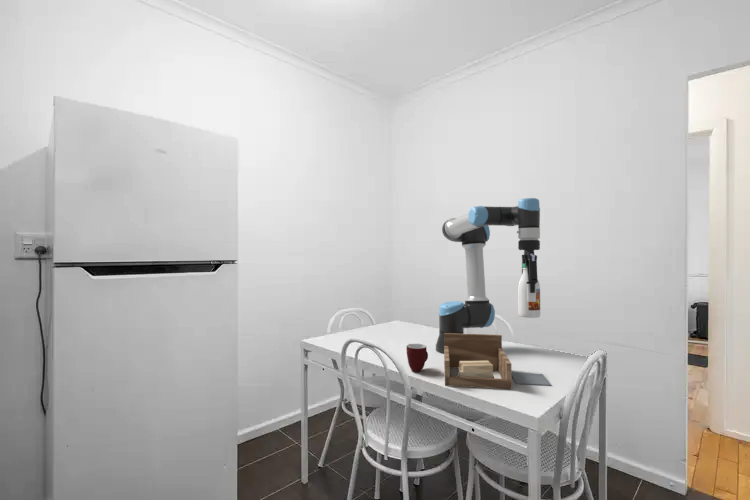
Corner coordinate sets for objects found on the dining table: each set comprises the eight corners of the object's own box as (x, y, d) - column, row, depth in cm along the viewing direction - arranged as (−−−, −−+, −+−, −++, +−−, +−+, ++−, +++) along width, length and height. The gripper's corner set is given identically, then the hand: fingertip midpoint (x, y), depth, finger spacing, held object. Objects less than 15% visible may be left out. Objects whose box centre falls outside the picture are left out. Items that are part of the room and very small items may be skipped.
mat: (510, 373, 149) (510, 372, 149) (542, 374, 147) (542, 373, 147) (516, 384, 137) (516, 382, 137) (551, 385, 135) (551, 384, 135)
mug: (417, 364, 160) (417, 341, 160) (433, 368, 155) (433, 344, 155) (402, 370, 152) (402, 346, 152) (419, 375, 147) (419, 349, 147)
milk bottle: (520, 317, 139) (519, 263, 139) (516, 314, 146) (516, 263, 146) (542, 318, 137) (542, 263, 137) (537, 314, 145) (537, 263, 145)
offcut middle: (458, 373, 143) (458, 366, 143) (490, 374, 142) (490, 368, 142) (459, 378, 138) (459, 371, 138) (493, 379, 136) (493, 373, 136)
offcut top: (459, 367, 142) (459, 361, 142) (487, 367, 143) (487, 360, 143) (463, 372, 137) (463, 365, 137) (493, 371, 137) (492, 365, 137)
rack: (444, 366, 158) (444, 333, 158) (501, 368, 154) (501, 334, 154) (445, 385, 136) (444, 346, 136) (511, 389, 132) (511, 349, 132)
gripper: (513, 240, 152) (513, 296, 152) (524, 239, 132) (524, 303, 132) (533, 240, 151) (533, 296, 151) (546, 238, 131) (547, 304, 131)
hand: (529, 300), depth 142 cm, fingers closed on milk bottle, 7 cm apart
